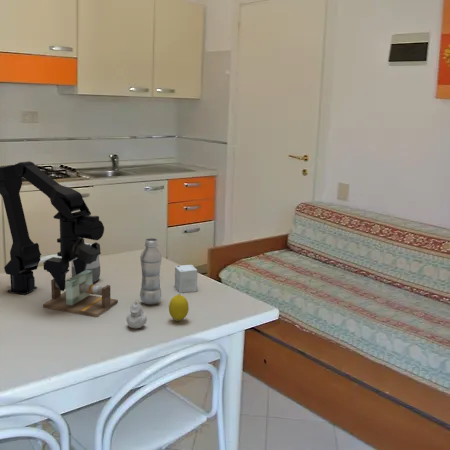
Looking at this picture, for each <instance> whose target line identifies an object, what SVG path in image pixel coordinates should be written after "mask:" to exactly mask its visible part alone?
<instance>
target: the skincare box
mask: <svg viewBox="0 0 450 450" xmlns="http://www.w3.org/2000/svg"><path fill="white" fill-rule="evenodd" d="M174 288H175V289H176V290H177V291H178V292H179V294H181V293H183V294H184V293H191V292H198V269H197V268H196V267H194V265H193V264H184V265H183V264H182V265H175V266H174Z"/></svg>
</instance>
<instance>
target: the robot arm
mask: <svg viewBox="0 0 450 450" xmlns="http://www.w3.org/2000/svg"><path fill="white" fill-rule="evenodd" d="M23 178H24V179H25V180H26V181H27V182H28V183H30V184H31V185H33V186H34V187H35V188H36V189H38V190H39V191H40V192H41V193H42V194H44V195H45V196H47V198H49V200H50V204H51V206H52V207H53V208H54V209H56V211H57V213H56V214H54V215H53V219H56V220H59V238H57V239H56V243H58V244H59V245H60V246H59V247H60V249H59V250H60V251H58V252H57V257H55V256H52V257H51V258H48V259H46V260H44V262H43V271H46V272H48V273H49V274H50V275H51V276H52V279H54V280H55V282H56V283H57V285H58V287H59V289H60V290H61V292H65V291H66V289H65V281H66V276H67V273H69V272H70V269H69V267H70V263H72V261H73V264H74V268H75V272H76V275H78V274H79V273H81V272H83V271H85V269H86V266H87V264H91V263H92V262H94V261H96V260H97V257H98V255H99V256H100V255H101V254H102V253H101V244H100V243H99V242H94V243H89V244H88V245H87V244H85V243H86V242H85V239H87V240H93V241H100V239H102V237H103V235H104V232H105V226H104V223H103V222H102V220H100V216H99V215H91V214H92V212H91V210H90V209H89V206H88V205H87V203H86V202H85V200H84V199H83V195H82V194H81V193H80V192H79V191H78V190H76V189H74V188H71V187H68V186H64V185H62V184H60V183H59V182H57V181H56V180H55V179H53V178H52V177H51V176H50V175H48V174H47V173H45V172H44V171H43V170H41V169H40V168H39V167H37V166H36V165H35V163H34V162H32V161H30V160H29V161H22V162H21V161H20V162H17V163H15V164H9V165H7V164H6V165H0V196H1V197H2V202H3V205H4V209H5V214H6V218H7V222H8V226H9V231H10V235H11V240H12V244H11V248H10V250H9V255H10V257H9V258H10V260H9V261H8V262H7V263H6V265H5V266H4V267H3V269H4V271H5V272H4V273H5V274H6V275H10V288H9V289H7V293H13V294H20V295H27V294H29V293H32V292H33V291H35V290H36V289H38V286H35V285H36V284H35V276H34V271H35V270H38V266H39V263H40V262H41V256H42V253H41V251H40V245H39V243H37V242H35V243H34V241H32V239H31V238H30V234H29V229H28V225H27V221H26V216H25V213H24V208H23V204H22V200H21V194H20V191H21V189H22V186H23ZM90 244H92V245H91V246H90Z"/></svg>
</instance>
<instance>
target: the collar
mask: <svg viewBox="0 0 450 450" xmlns="http://www.w3.org/2000/svg"><path fill="white" fill-rule="evenodd" d="M65 281H66V289H65V291H66V304H67V305H74V304H75V303H77V302H79V301H80V300H82V299H84V298H85V297H87V296H89V295H91V294H89V293H85V292H79V284H87V285H93V283H92V271H91V270H85V271H83V272H81V273H79V274H78V275H76V276H74V277H72V276H71V278H68V279H65Z"/></svg>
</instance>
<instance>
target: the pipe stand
mask: <svg viewBox="0 0 450 450" xmlns="http://www.w3.org/2000/svg"><path fill="white" fill-rule="evenodd" d="M50 287H51V299H49V300H47V301H46V302H44V303H42V308H46V309H51V310H56V311H61V312H67V313H72V314H77V315H82V316H87V317H88V316H89V317H93V318H99V317H100V316H101V315H102V314H104V313H105V312H107V311H108V310H110V309H111V308H113V307H114V306H116V305H118V303H119V299H116V298H115V299H114V298H111V285H109V284H108V285H107V284H106V285H105V286H104V287H103V286H97V285H95V284H92V285H87V284H79V292H85V293H89V294H90V295H89V296H87V297H85V298H84V299H82V300H80V301H79V302H77V303H75V304H74V305H67V304H66V280H65V290H64V291H63V292H62V291H61V290H60V289H59V287H58V285H57V283H56V282H55V280H54V278H52V279H51V280H50Z"/></svg>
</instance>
